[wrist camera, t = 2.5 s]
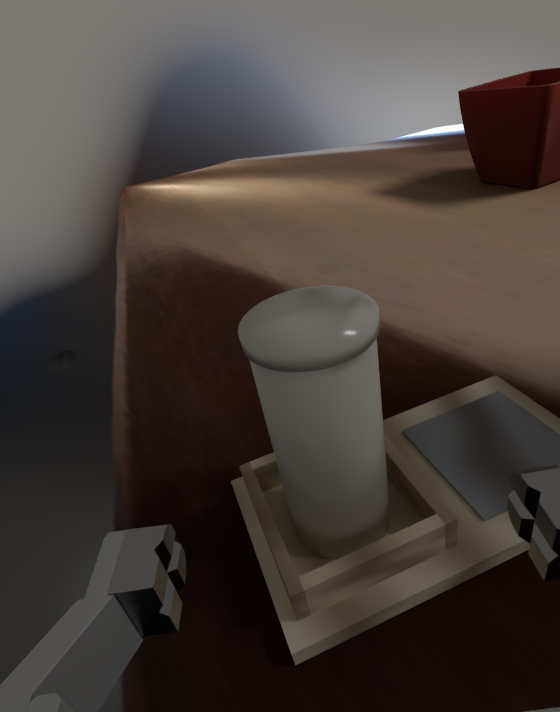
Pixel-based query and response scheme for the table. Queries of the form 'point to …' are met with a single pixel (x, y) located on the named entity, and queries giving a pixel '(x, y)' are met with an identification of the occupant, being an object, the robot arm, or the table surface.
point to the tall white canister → (323, 412)
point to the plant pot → (515, 128)
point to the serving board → (406, 515)
